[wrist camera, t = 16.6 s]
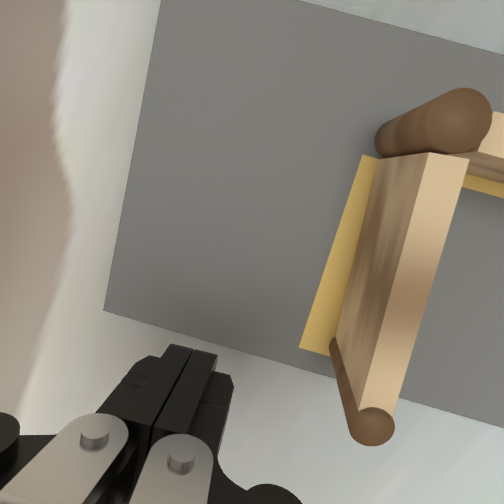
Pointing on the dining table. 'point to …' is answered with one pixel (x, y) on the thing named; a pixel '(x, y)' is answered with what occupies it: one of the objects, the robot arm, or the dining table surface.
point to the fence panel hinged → (391, 285)
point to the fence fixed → (450, 132)
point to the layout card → (299, 191)
